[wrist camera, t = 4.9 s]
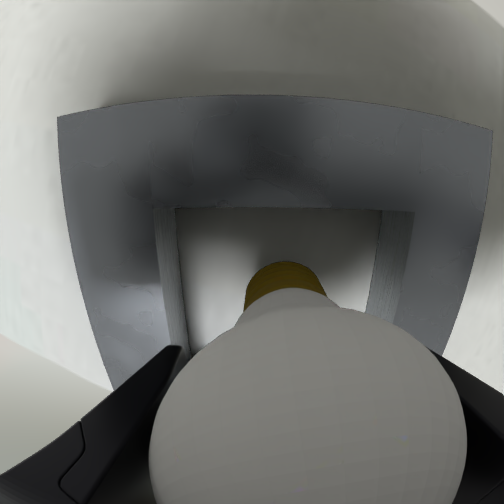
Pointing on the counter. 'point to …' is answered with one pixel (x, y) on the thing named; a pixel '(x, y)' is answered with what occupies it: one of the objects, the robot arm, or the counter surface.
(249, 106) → the socket collar
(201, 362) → the light bulb
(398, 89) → the counter surface
